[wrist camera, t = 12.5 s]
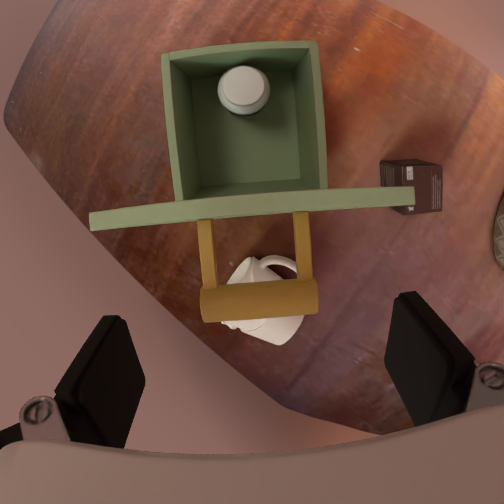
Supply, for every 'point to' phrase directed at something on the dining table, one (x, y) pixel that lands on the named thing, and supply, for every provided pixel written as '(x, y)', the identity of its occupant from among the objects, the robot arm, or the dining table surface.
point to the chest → (245, 121)
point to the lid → (297, 202)
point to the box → (415, 183)
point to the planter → (499, 235)
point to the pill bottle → (244, 90)
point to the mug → (265, 328)
